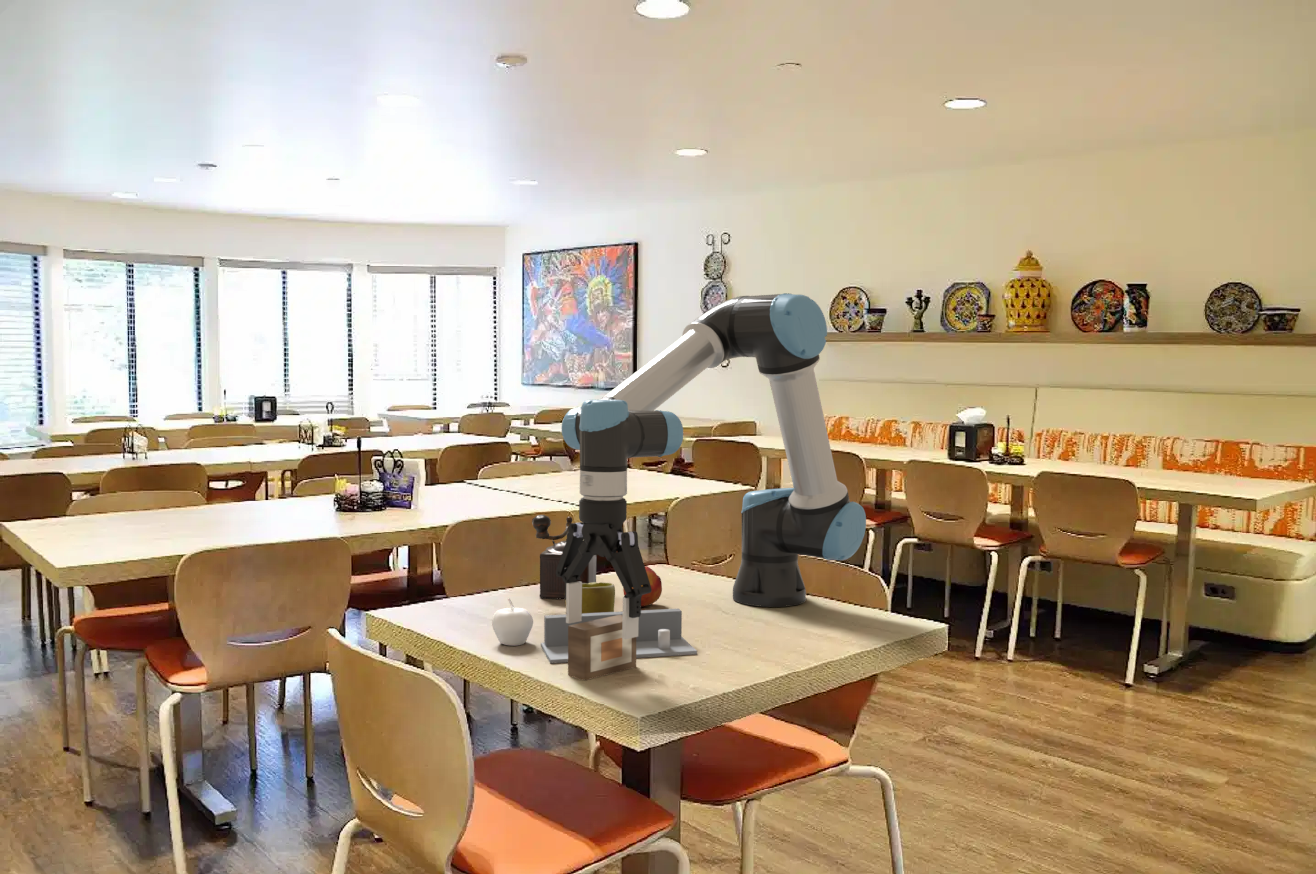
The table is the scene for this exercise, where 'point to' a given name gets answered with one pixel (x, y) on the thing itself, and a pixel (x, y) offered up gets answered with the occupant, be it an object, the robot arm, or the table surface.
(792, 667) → the table surface
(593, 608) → the mug
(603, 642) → the picture block
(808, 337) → the robot arm
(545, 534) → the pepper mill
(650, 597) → the fruit
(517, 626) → the plain white apple
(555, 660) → the ledge
